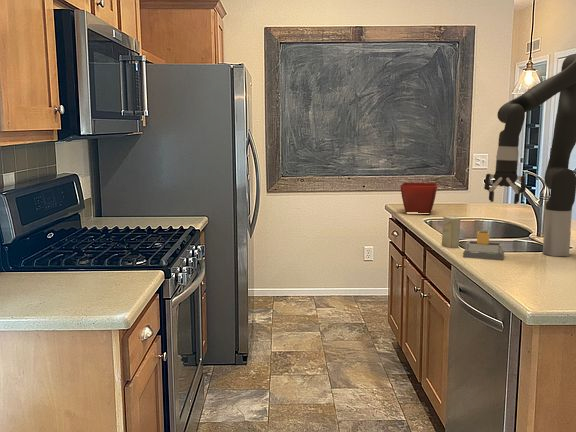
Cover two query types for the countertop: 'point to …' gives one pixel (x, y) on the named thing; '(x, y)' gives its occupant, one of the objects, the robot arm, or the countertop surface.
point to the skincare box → (451, 231)
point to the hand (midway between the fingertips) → (503, 202)
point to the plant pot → (418, 196)
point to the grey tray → (484, 250)
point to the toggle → (483, 237)
